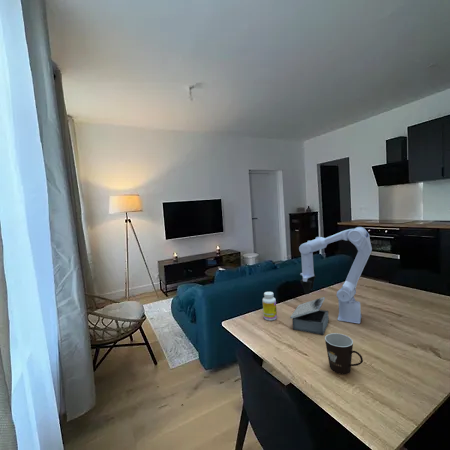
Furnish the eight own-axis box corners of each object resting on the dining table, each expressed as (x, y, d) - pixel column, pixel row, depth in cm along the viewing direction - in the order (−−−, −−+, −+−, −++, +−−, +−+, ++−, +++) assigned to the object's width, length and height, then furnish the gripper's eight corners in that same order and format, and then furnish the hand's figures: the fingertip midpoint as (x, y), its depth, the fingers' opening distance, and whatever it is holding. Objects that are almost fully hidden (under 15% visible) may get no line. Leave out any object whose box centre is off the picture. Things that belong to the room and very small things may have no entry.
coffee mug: (321, 362, 88) (320, 334, 87) (344, 359, 88) (343, 332, 88) (339, 385, 76) (338, 353, 75) (366, 381, 77) (364, 350, 76)
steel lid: (324, 298, 117) (323, 294, 117) (318, 310, 105) (316, 306, 105) (299, 306, 124) (297, 303, 124) (290, 318, 111) (288, 315, 112)
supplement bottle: (277, 321, 121) (275, 295, 120) (263, 320, 122) (261, 295, 121) (276, 315, 127) (275, 290, 126) (263, 315, 129) (262, 290, 128)
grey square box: (328, 321, 117) (328, 310, 117) (323, 335, 105) (322, 323, 105) (300, 316, 124) (300, 306, 123) (292, 329, 112) (292, 318, 111)
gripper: (303, 262, 137) (304, 286, 138) (296, 268, 124) (297, 294, 125) (316, 262, 133) (317, 287, 134) (310, 269, 121) (312, 296, 122)
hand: (308, 291), depth 129 cm, fingers open, 7 cm apart
